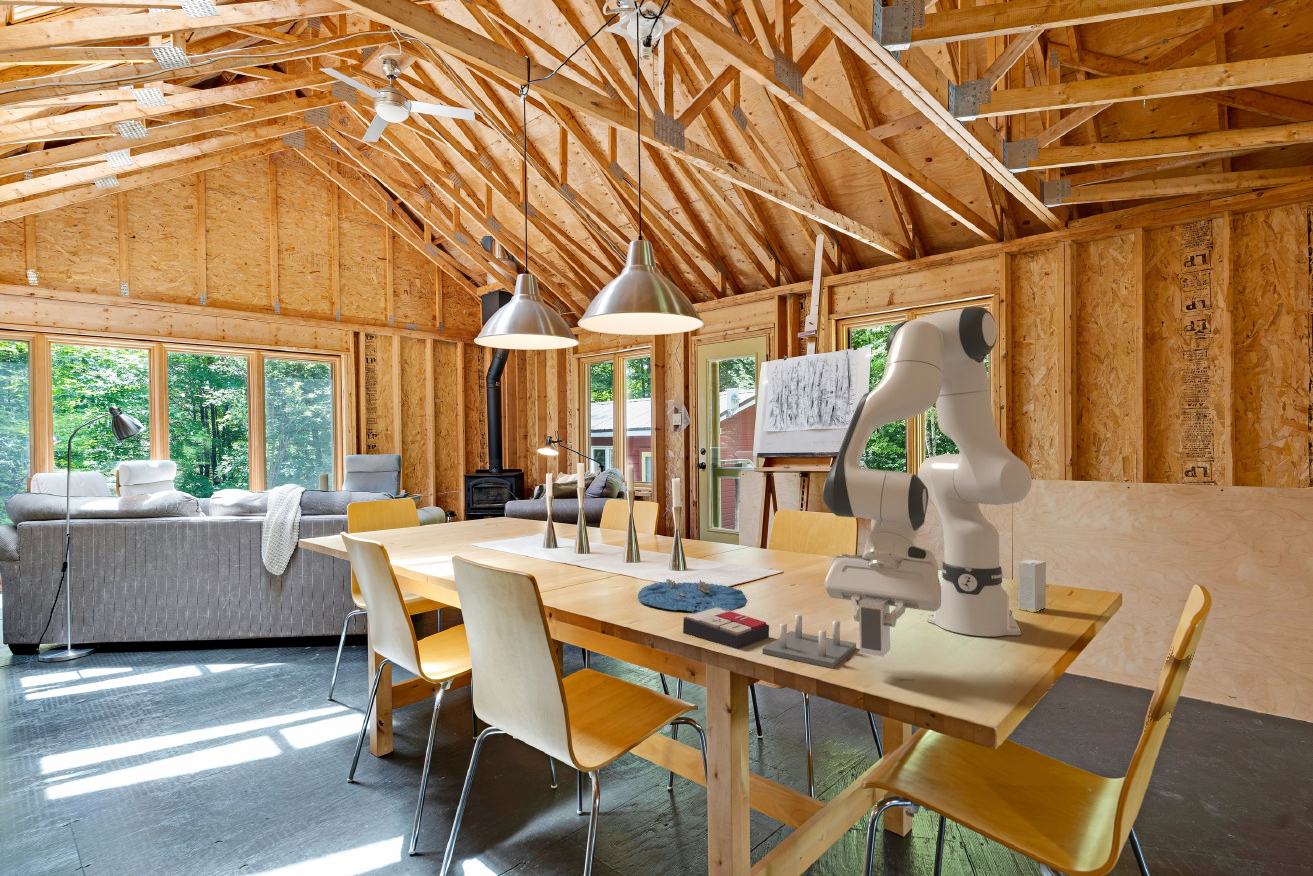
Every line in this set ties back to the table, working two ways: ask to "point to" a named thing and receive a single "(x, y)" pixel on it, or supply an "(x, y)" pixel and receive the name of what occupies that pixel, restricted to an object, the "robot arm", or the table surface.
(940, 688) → the table surface
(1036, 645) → the table surface
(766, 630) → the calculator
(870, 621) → the block
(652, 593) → the blue sea diorama
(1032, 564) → the skincare box
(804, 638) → the pin tray
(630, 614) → the table surface
